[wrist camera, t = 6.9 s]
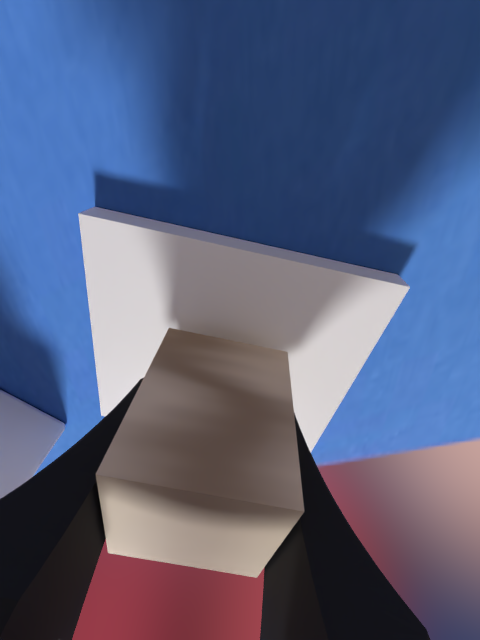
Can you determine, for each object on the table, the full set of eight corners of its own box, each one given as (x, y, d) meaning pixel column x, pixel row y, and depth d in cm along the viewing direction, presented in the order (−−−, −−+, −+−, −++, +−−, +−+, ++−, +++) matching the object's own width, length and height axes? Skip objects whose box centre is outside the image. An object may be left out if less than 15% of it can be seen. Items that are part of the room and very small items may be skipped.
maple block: (163, 406, 14) (108, 552, 9) (169, 327, 12) (95, 474, 7) (259, 425, 15) (256, 577, 10) (287, 351, 12) (304, 511, 7)
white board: (110, 400, 18) (101, 415, 17) (94, 206, 12) (78, 213, 11) (306, 438, 19) (309, 455, 18) (398, 274, 12) (410, 287, 11)
